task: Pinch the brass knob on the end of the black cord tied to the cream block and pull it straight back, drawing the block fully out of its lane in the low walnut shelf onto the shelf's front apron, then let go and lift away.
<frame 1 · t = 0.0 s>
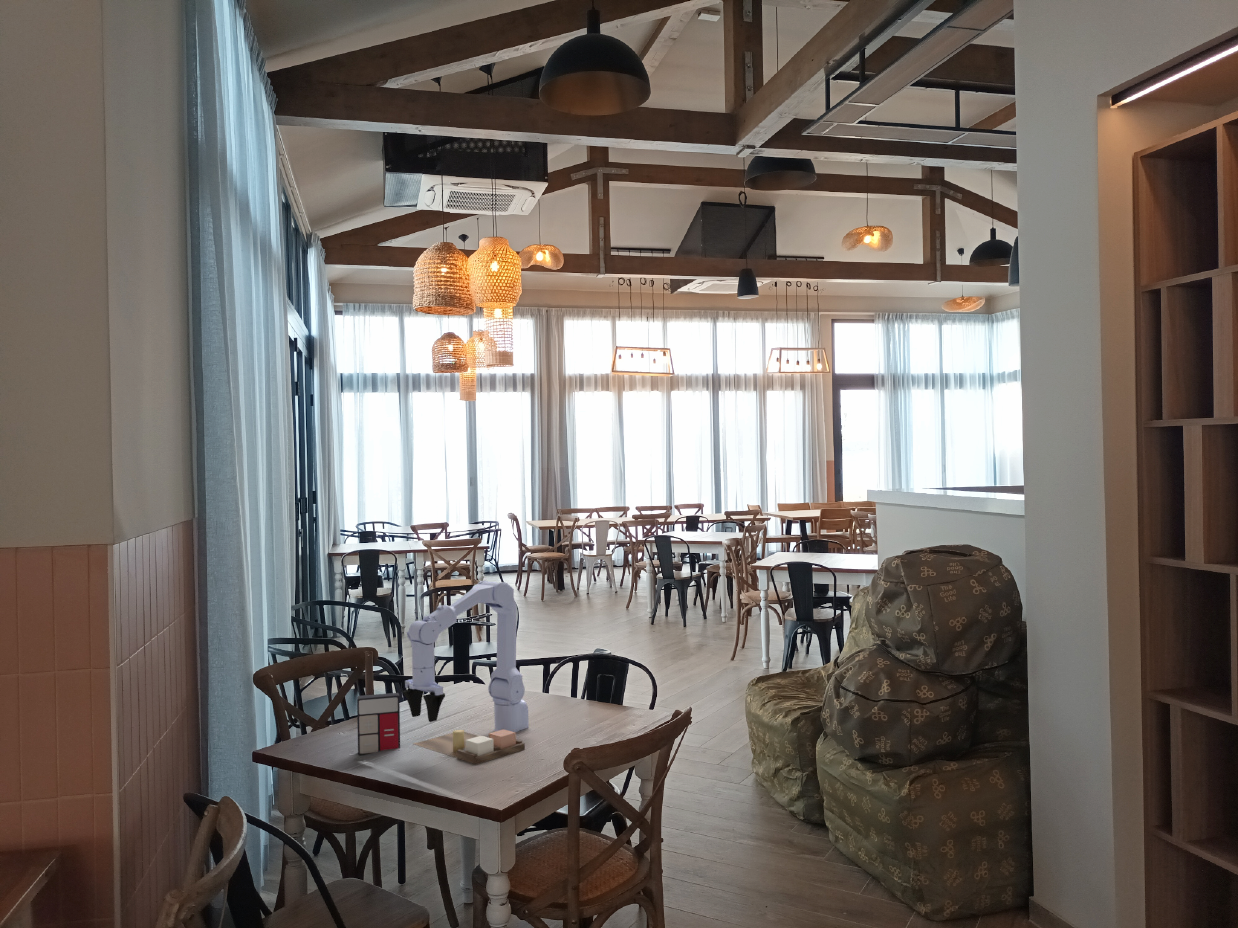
hand: (424, 718, 230), 10 cm above the table, tool pointing down, fingers open, 7 cm apart
untied block: (502, 749, 231), point 1 cm above the table, touching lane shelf
calculator: (379, 752, 236), on the table
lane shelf: (477, 752, 232), on the table
tethered block: (479, 756, 226), point 1 cm above the table, touching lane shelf
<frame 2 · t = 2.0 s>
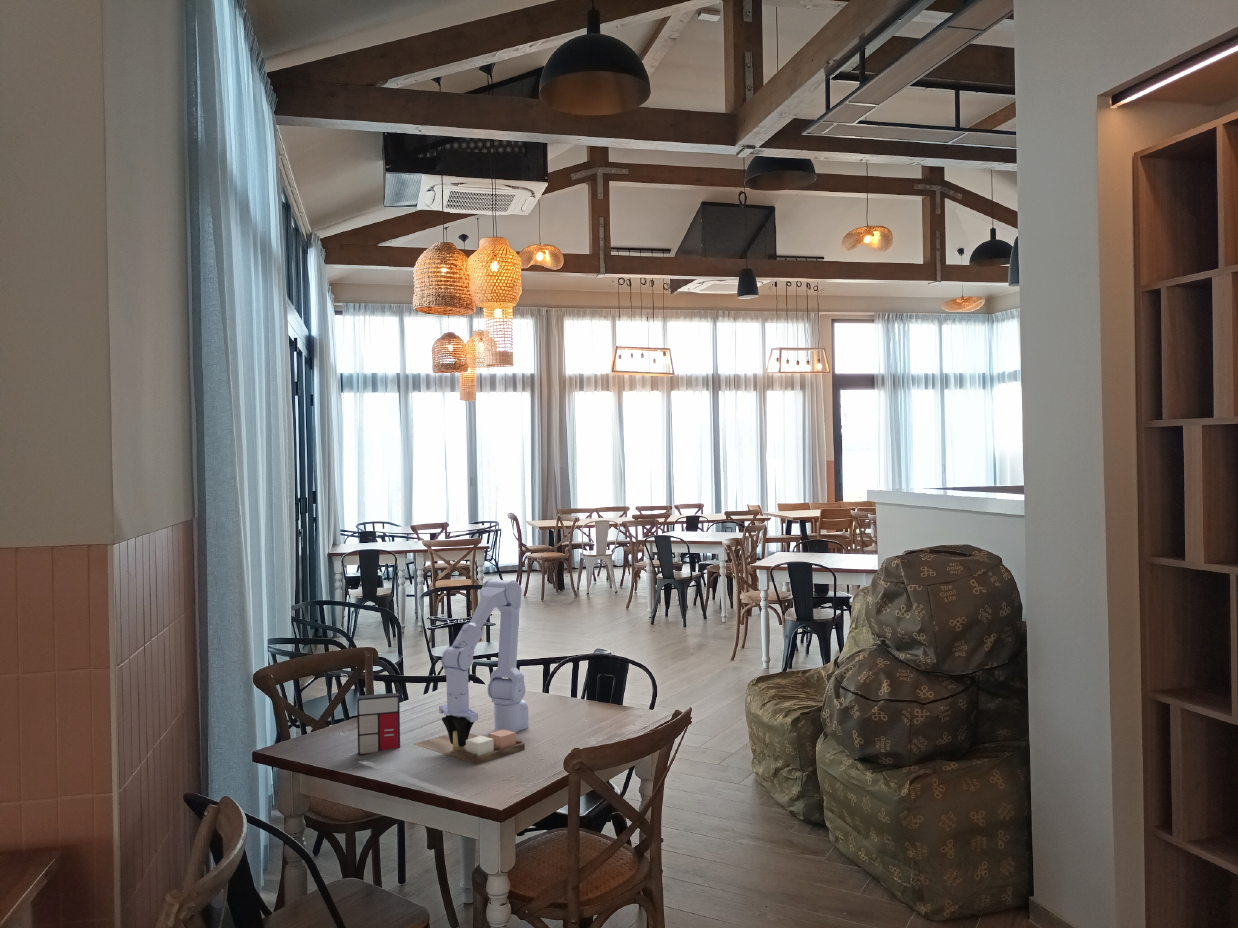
hand: (458, 744, 232), 3 cm above the table, tool pointing down, fingers closed on tethered block, 3 cm apart
tethered block: (479, 756, 226), point 1 cm above the table, touching gripper, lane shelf
everything else where it was.
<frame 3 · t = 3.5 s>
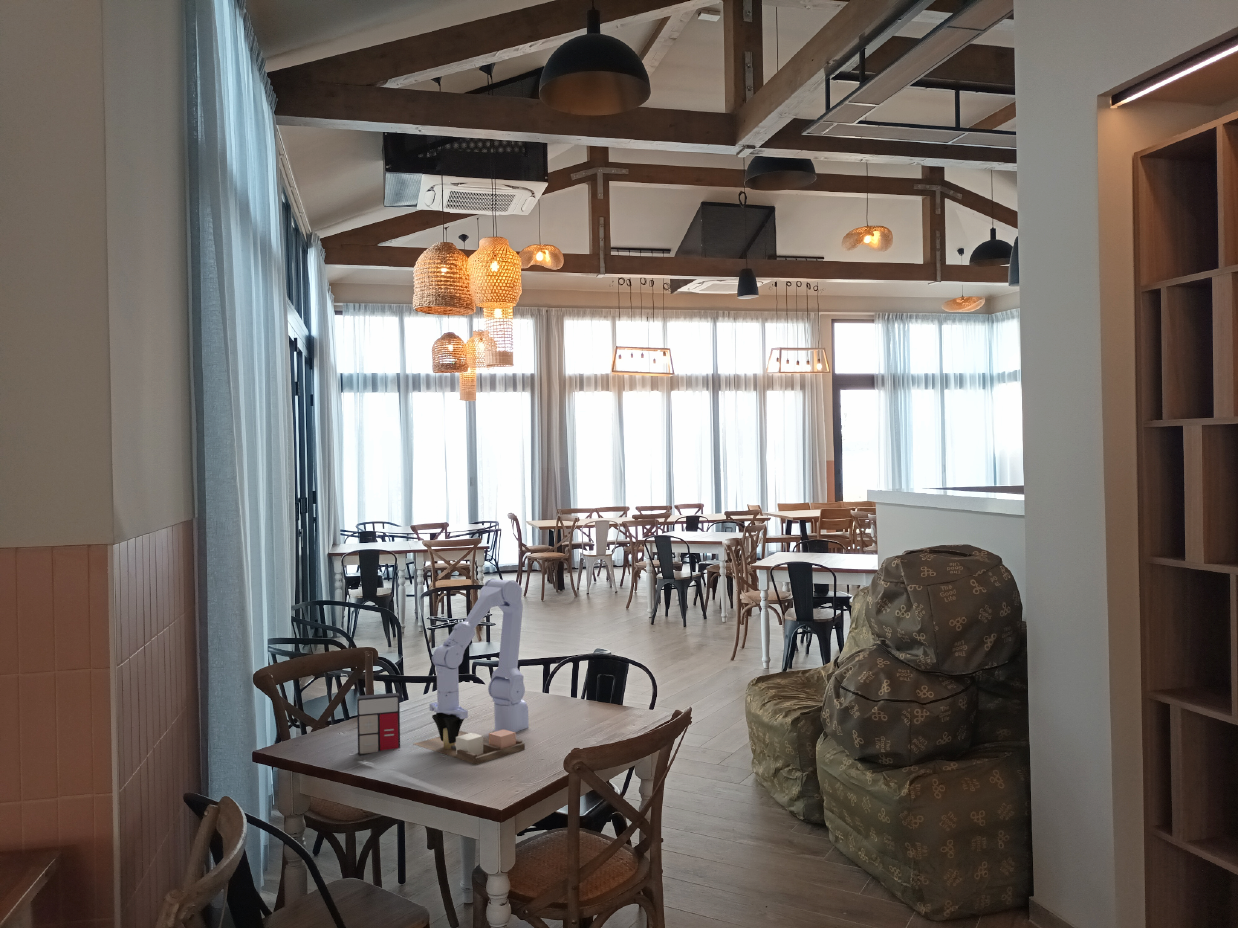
hand: (448, 741, 235), 3 cm above the table, tool pointing down, fingers closed on tethered block, 3 cm apart
tethered block: (469, 753, 229), point 1 cm above the table, touching gripper
everything else where it was.
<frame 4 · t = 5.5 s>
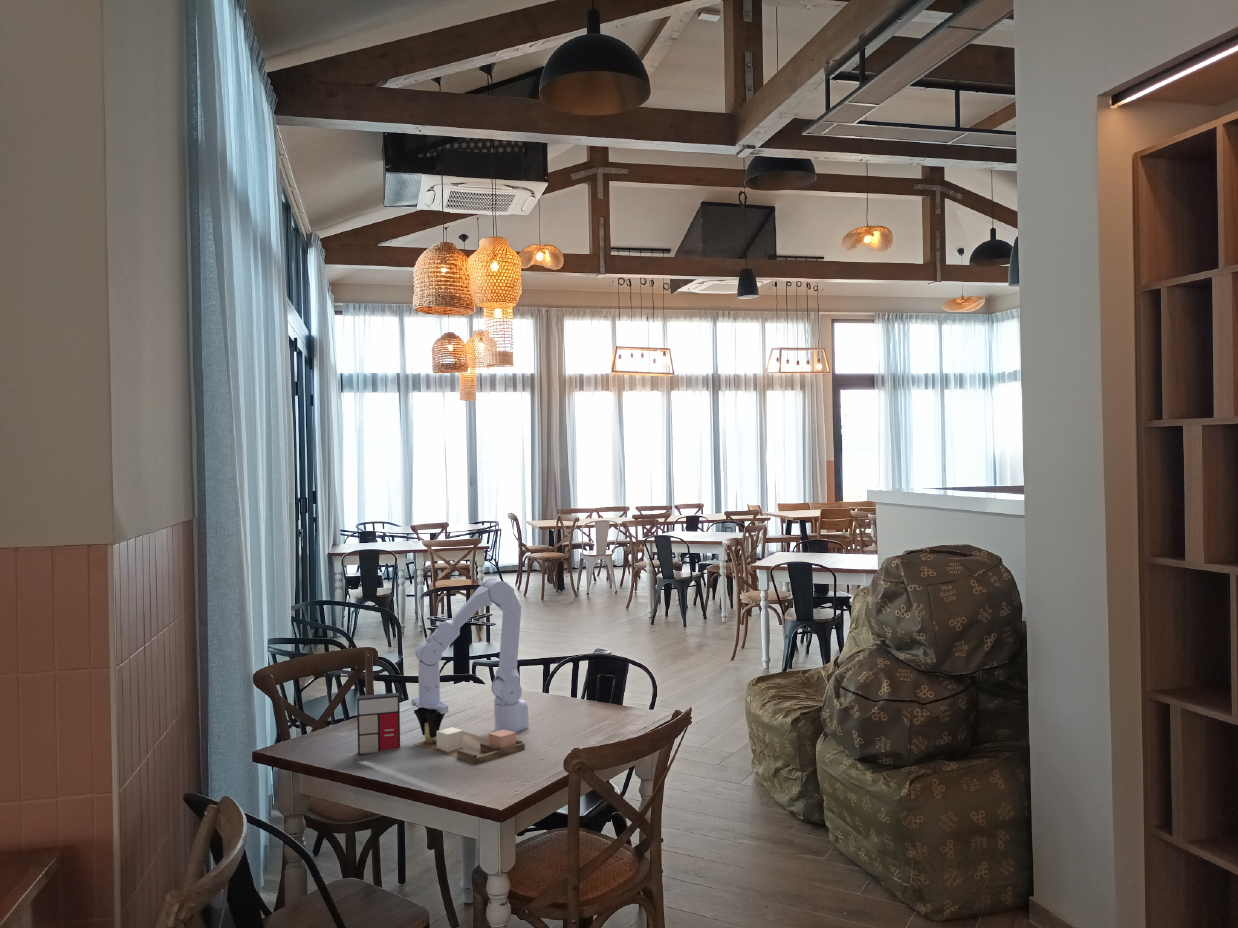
hand: (430, 735, 241), 3 cm above the table, tool pointing down, fingers closed on tethered block, 3 cm apart
tethered block: (449, 747, 234), point 1 cm above the table, touching gripper, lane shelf
everything else where it was.
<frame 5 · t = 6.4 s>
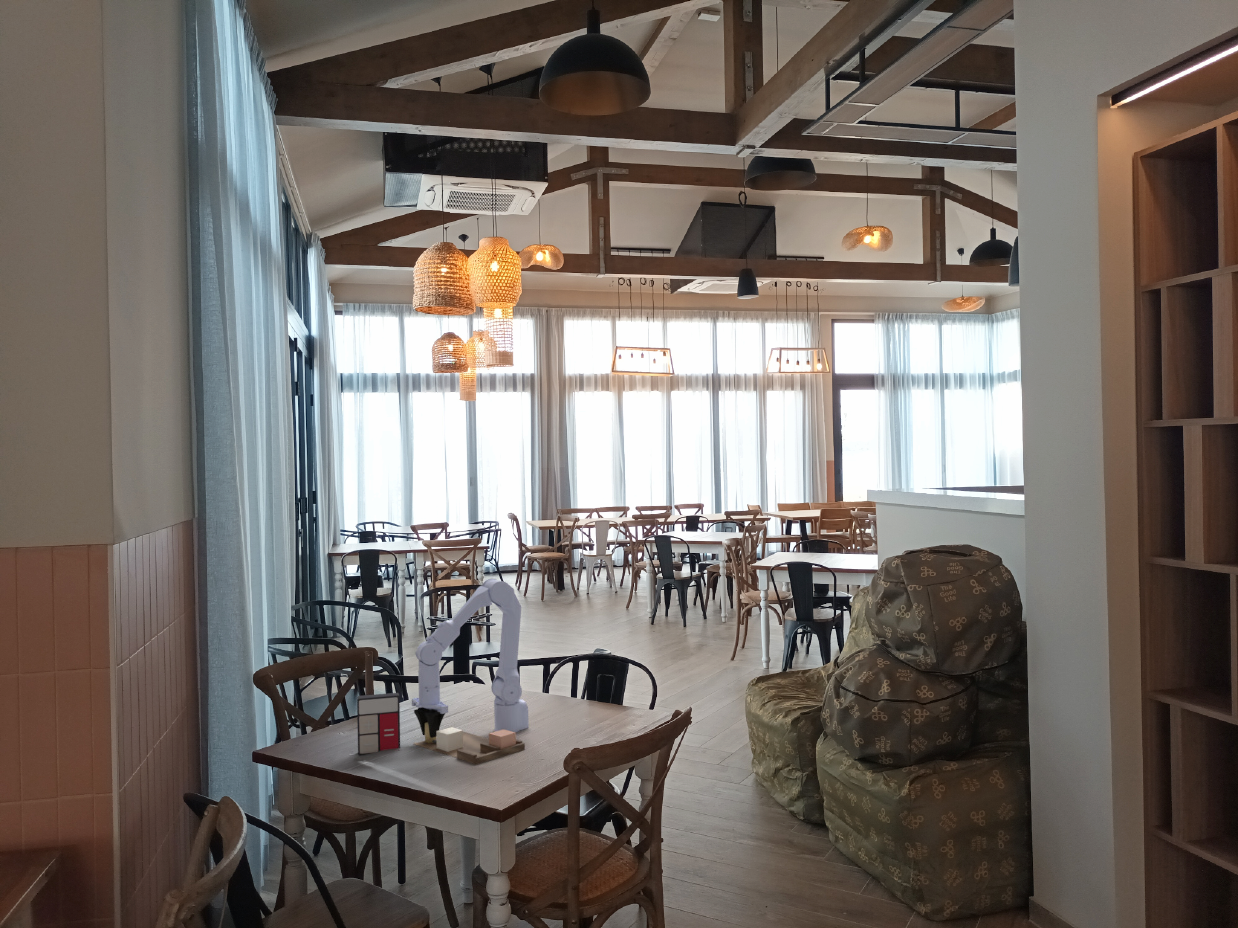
hand: (430, 735, 241), 3 cm above the table, tool pointing down, fingers closed on tethered block, 3 cm apart
tethered block: (449, 747, 234), point 1 cm above the table, touching gripper, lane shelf
everything else where it was.
when the fingers open (3 cm above the table, at t = 6.7 s): tethered block stays where it is, resting on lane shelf.
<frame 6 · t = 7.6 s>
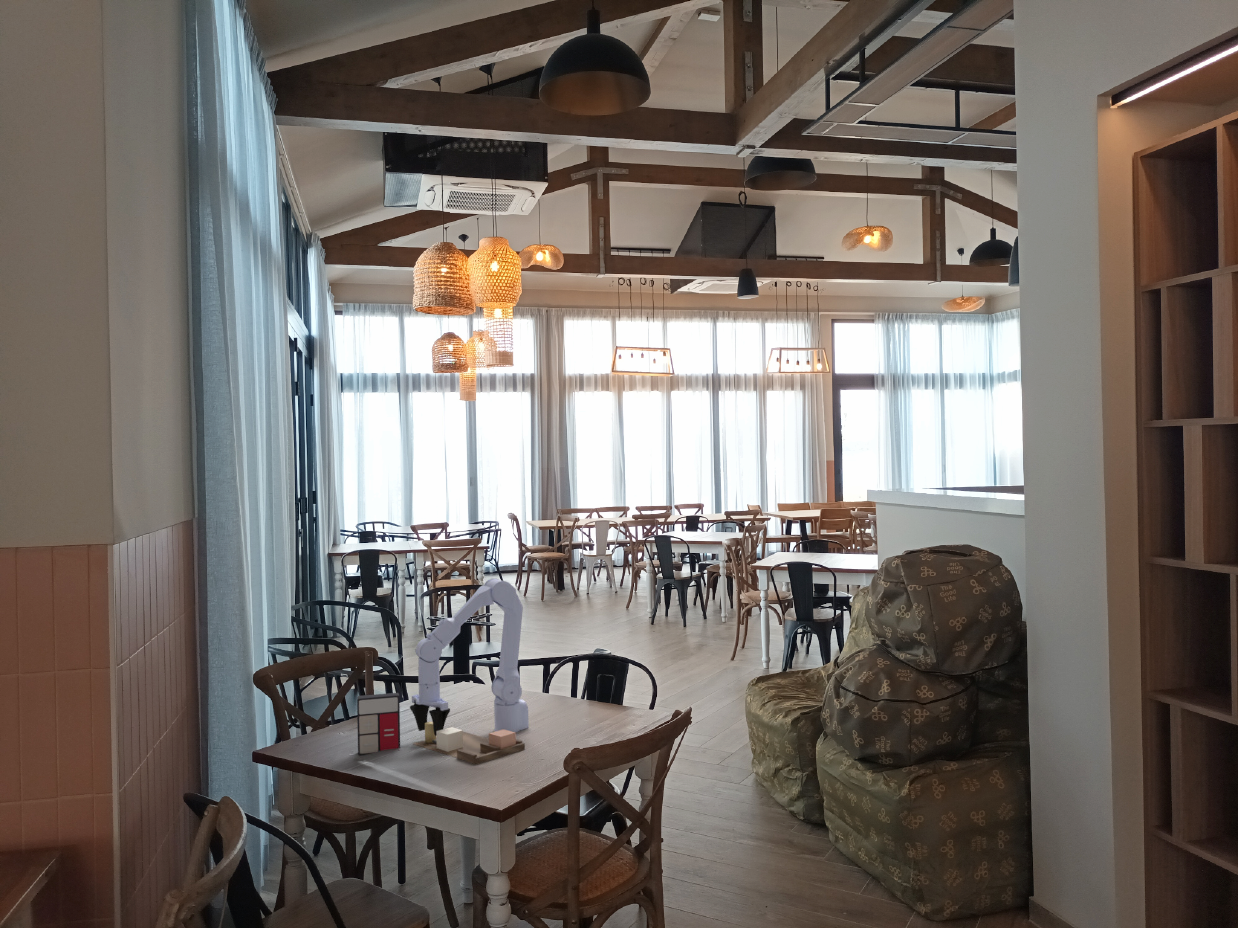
hand: (430, 732, 241), 3 cm above the table, tool pointing down, fingers open, 7 cm apart
tethered block: (449, 747, 234), point 1 cm above the table, touching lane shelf
everything else where it was.
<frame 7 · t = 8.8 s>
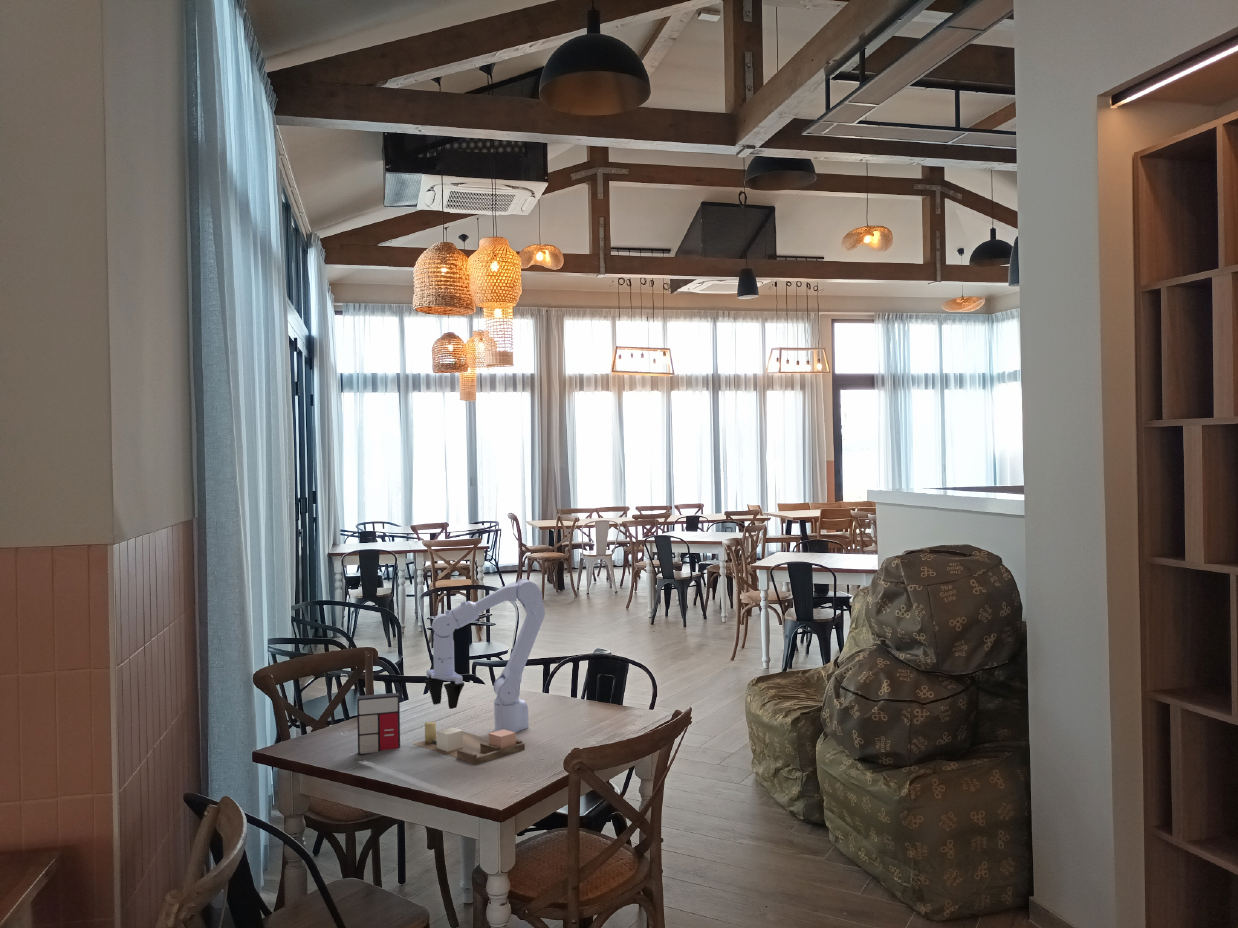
hand: (444, 705, 246), 9 cm above the table, tool pointing down, fingers open, 7 cm apart
nothing on the table moved.
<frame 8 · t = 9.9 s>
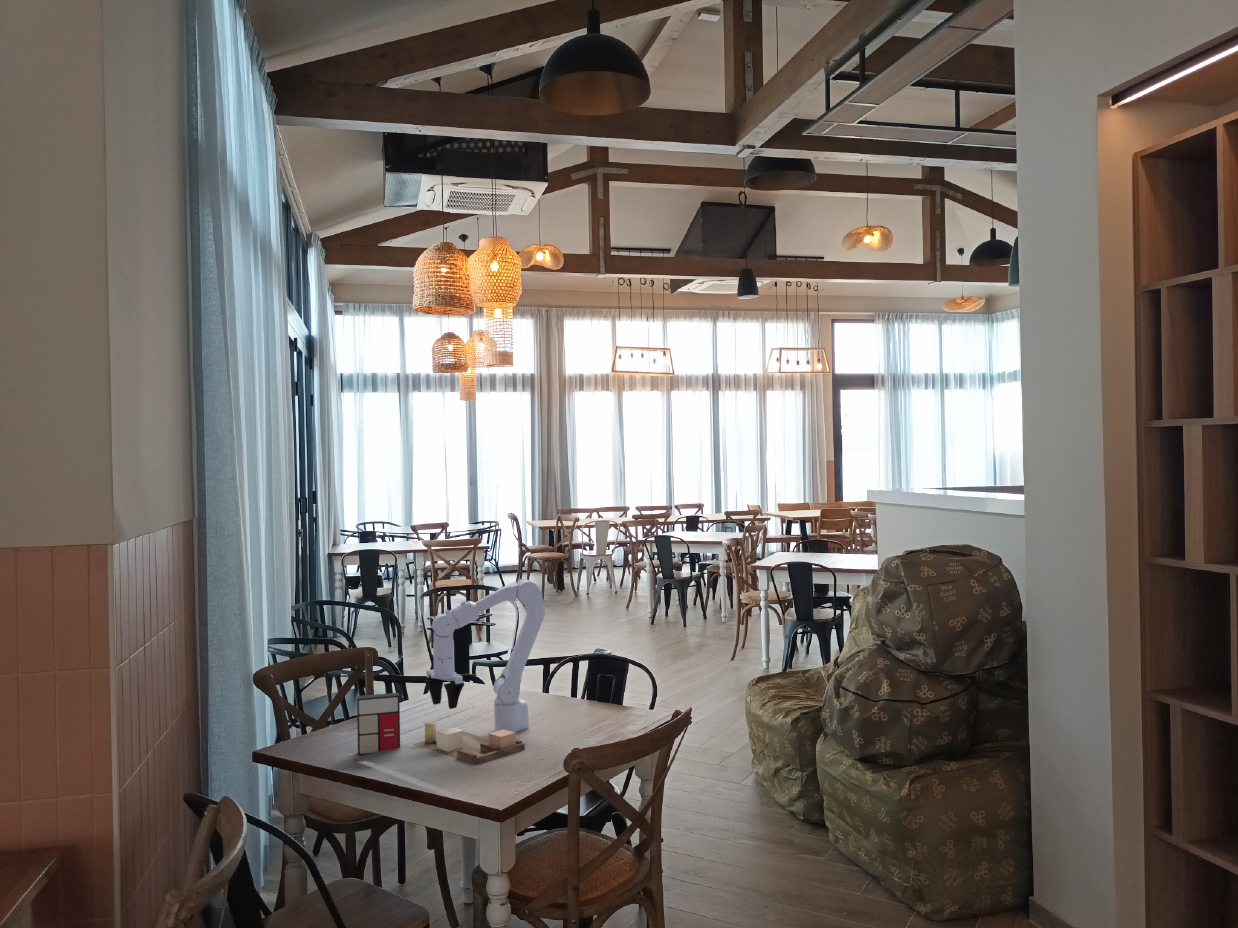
hand: (444, 705, 246), 9 cm above the table, tool pointing down, fingers open, 7 cm apart
nothing on the table moved.
at the end: tethered block inside the target area on the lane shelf (1.7 cm from its centre), point 1.0 cm above the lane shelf's base; tethered block tilted 0°; untied block moved 0.0 cm from its start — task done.
